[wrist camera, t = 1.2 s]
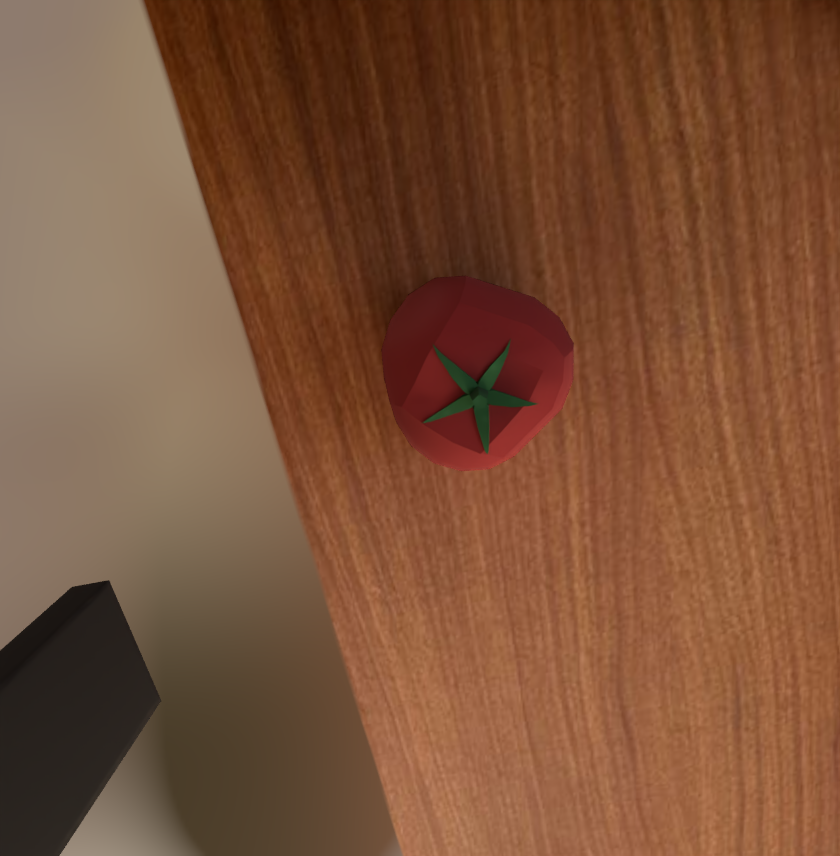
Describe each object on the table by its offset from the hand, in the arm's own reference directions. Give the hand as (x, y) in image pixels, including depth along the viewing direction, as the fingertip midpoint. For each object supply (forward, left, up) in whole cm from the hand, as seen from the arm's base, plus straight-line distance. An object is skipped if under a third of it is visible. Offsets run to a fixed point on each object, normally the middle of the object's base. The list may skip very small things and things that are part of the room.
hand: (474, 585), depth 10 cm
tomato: (0, 0, -19) cm, 19 cm away
